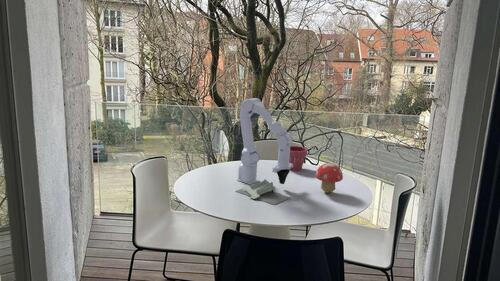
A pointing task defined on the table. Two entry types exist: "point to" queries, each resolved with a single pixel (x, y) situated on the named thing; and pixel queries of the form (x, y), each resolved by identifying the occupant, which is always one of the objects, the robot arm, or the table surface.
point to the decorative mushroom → (329, 176)
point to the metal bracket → (259, 188)
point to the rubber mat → (268, 197)
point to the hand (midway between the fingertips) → (281, 183)
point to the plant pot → (297, 157)
